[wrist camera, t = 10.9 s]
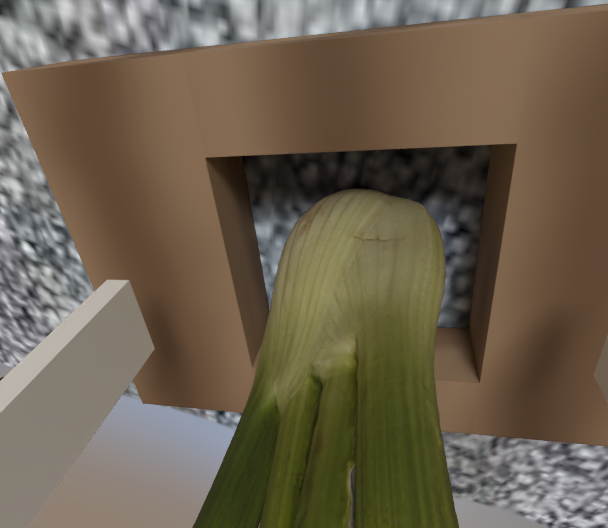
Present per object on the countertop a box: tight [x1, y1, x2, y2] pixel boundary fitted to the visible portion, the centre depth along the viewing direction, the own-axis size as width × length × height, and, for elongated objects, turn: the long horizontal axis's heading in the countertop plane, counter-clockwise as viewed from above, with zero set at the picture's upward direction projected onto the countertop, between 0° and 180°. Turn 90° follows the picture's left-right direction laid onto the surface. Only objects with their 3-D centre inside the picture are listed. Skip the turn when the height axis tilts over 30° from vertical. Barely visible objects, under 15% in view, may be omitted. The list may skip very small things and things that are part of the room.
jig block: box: [2, 4, 608, 446], centre depth 15 cm, size 20×14×3 cm
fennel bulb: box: [193, 189, 459, 528], centre depth 11 cm, size 6×5×12 cm
